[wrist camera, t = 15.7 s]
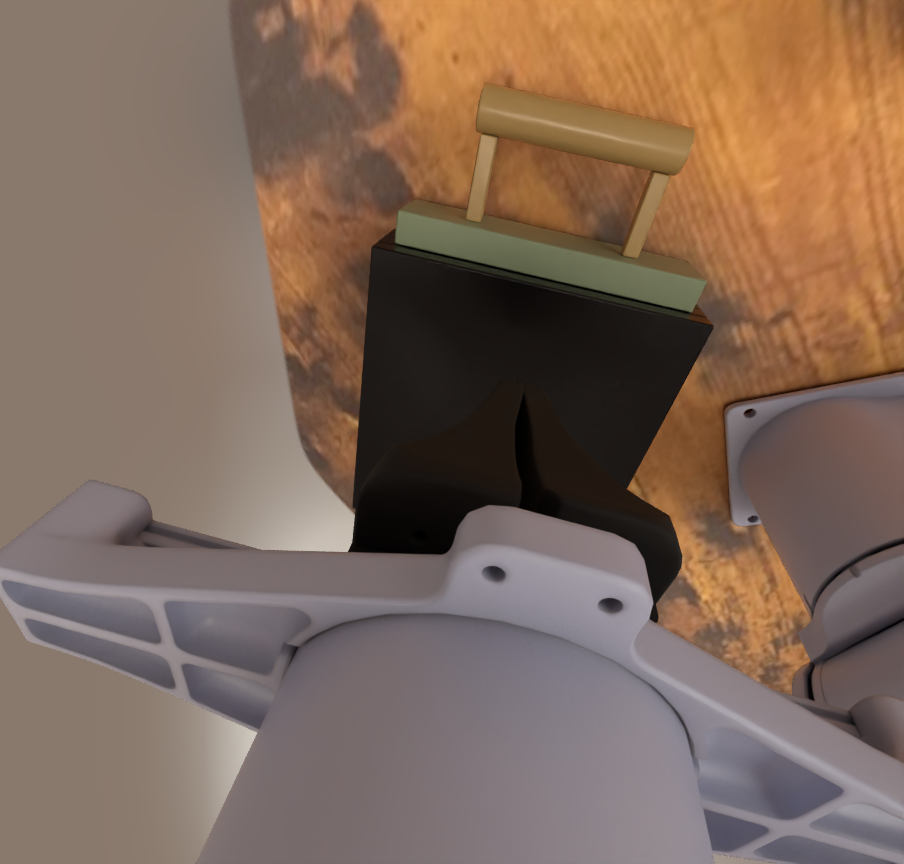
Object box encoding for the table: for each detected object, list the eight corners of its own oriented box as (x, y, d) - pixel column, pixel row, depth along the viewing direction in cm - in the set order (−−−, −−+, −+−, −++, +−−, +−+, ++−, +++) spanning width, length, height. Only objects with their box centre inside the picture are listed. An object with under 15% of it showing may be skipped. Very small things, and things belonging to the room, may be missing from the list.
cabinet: (403, 221, 21) (371, 245, 17) (684, 286, 20) (715, 326, 16) (377, 457, 29) (351, 508, 25) (579, 507, 28) (584, 568, 24)
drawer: (430, 71, 17) (411, 65, 15) (744, 140, 16) (776, 144, 14) (386, 438, 26) (371, 468, 24) (583, 487, 26) (587, 523, 24)
